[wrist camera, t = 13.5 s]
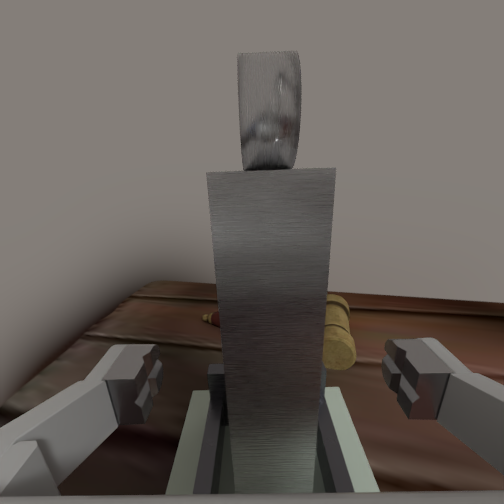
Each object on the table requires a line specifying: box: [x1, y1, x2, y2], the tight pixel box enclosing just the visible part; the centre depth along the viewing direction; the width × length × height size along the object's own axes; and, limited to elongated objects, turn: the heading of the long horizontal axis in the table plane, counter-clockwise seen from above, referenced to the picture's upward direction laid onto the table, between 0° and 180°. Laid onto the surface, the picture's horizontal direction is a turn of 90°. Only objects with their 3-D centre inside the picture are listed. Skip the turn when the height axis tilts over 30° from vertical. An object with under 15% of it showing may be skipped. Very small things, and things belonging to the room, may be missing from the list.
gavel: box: [203, 294, 356, 370], centre depth 34 cm, size 21×5×10 cm
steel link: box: [206, 51, 336, 494], centre depth 13 cm, size 4×4×24 cm
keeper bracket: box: [165, 361, 380, 495], centre depth 16 cm, size 14×14×7 cm
